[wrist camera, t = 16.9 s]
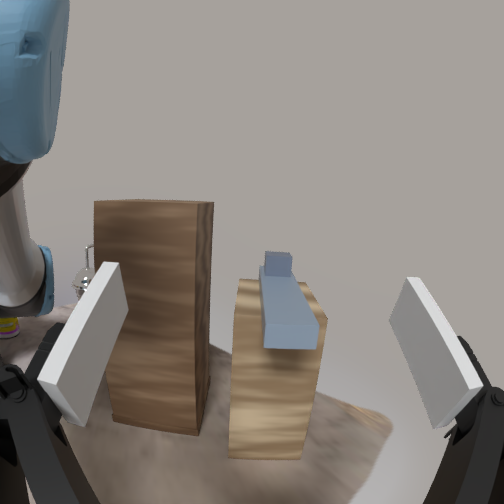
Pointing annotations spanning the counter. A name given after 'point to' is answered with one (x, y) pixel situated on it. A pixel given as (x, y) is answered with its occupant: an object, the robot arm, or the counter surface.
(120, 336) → the walnut box
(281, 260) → the lid
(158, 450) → the counter surface
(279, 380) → the oak block
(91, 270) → the cup with straw
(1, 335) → the supplement bottle
